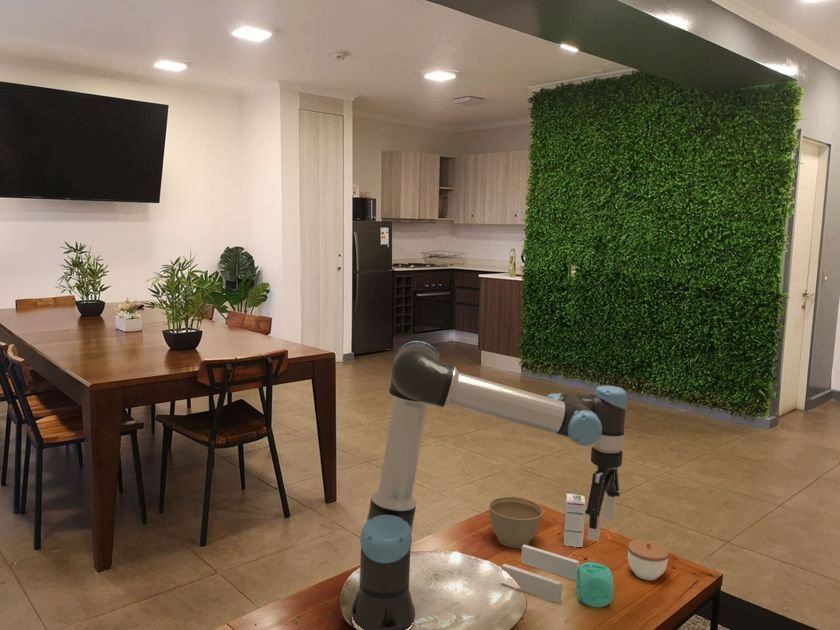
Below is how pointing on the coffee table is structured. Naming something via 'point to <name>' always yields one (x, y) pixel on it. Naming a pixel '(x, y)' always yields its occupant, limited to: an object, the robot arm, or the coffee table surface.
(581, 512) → the syrup box
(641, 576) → the lidded jar
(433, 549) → the coffee table surface
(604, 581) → the decorative dice
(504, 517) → the planter bowl
